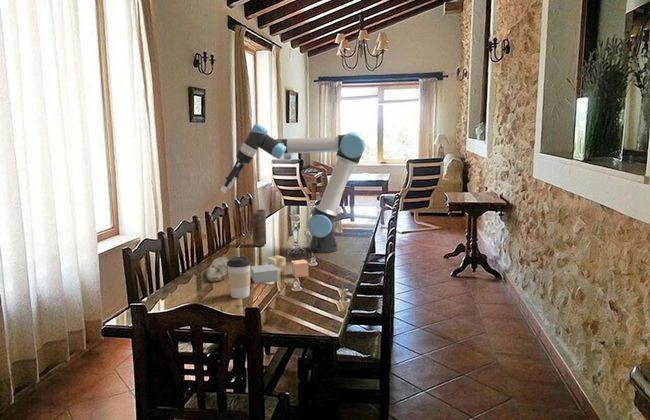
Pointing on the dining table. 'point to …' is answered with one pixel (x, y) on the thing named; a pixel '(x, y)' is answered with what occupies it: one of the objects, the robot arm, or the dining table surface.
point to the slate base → (264, 273)
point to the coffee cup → (239, 276)
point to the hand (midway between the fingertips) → (225, 189)
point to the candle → (259, 227)
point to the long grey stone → (217, 269)
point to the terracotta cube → (299, 268)
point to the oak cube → (277, 262)
